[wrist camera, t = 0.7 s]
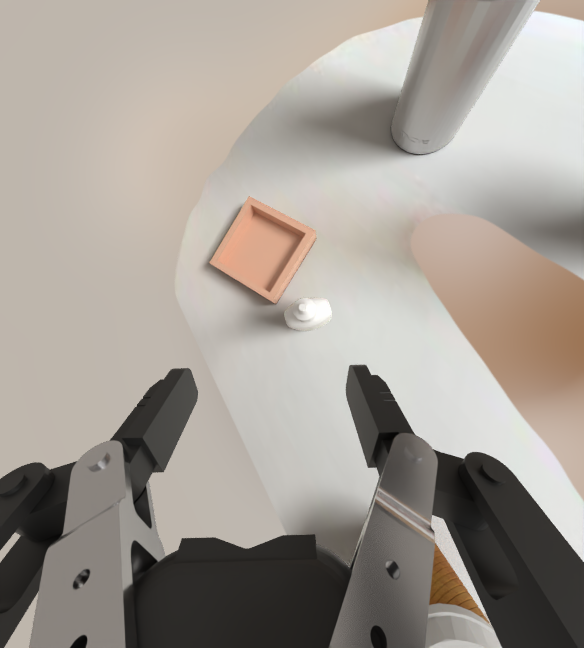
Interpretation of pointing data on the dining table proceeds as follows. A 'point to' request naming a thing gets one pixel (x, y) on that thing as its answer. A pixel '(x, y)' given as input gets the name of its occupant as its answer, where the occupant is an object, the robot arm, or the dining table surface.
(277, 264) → the terracotta caddy
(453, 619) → the disposable coffee cup
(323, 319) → the eye dropper bottle
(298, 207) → the dining table surface
